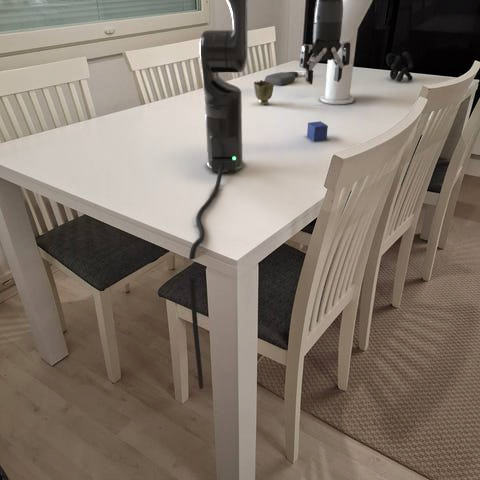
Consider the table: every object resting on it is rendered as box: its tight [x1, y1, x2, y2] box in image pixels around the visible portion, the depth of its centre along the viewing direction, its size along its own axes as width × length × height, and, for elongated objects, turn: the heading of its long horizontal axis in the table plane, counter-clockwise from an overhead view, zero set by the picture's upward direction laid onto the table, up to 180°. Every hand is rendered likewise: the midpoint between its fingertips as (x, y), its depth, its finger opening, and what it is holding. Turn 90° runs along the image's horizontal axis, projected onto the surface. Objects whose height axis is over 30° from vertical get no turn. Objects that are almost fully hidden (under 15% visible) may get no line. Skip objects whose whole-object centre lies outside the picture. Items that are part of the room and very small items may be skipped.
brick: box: [306, 120, 329, 142], centre depth 136 cm, size 5×4×4 cm
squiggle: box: [385, 51, 414, 83], centre depth 198 cm, size 11×10×15 cm
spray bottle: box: [264, 70, 306, 86], centre depth 204 cm, size 3×11×25 cm
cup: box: [253, 79, 275, 106], centre depth 169 cm, size 8×7×8 cm
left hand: (323, 82), depth 128 cm, fingers open, 8 cm apart
